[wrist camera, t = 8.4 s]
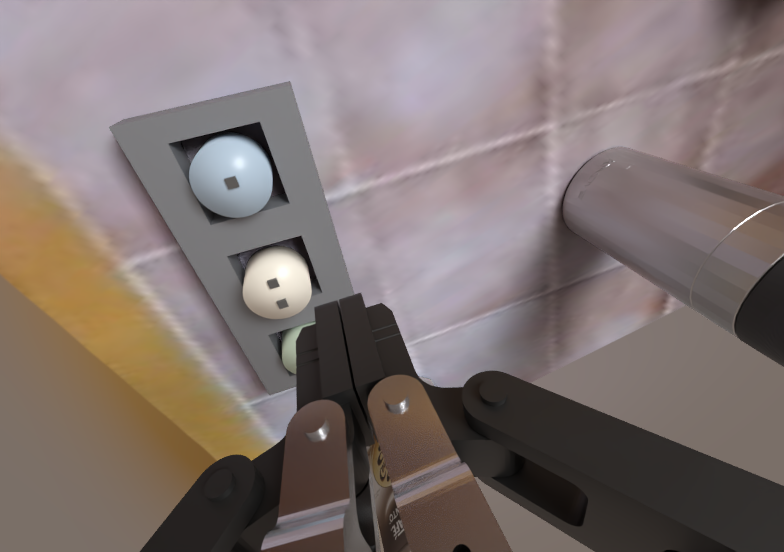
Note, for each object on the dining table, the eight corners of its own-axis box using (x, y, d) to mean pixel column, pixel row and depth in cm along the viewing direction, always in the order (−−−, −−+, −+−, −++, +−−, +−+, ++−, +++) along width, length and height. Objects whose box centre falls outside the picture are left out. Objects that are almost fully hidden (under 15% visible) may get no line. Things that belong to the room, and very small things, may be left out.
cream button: (234, 256, 28) (230, 277, 26) (297, 238, 29) (299, 257, 26) (259, 304, 31) (258, 328, 29) (316, 287, 32) (319, 309, 29)
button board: (123, 119, 24) (108, 127, 22) (290, 81, 25) (291, 85, 23) (269, 376, 39) (269, 395, 36) (369, 344, 40) (374, 360, 38)
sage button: (274, 324, 34) (273, 347, 32) (325, 308, 35) (329, 330, 32) (291, 359, 37) (292, 383, 35) (338, 344, 38) (343, 367, 35)
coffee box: (390, 368, 43) (440, 512, 30) (432, 378, 46) (494, 513, 33) (353, 418, 46) (384, 568, 33) (394, 424, 49) (438, 565, 36)
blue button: (183, 142, 24) (172, 154, 22) (257, 124, 25) (255, 134, 22) (216, 209, 27) (210, 227, 25) (282, 192, 28) (283, 207, 25)
